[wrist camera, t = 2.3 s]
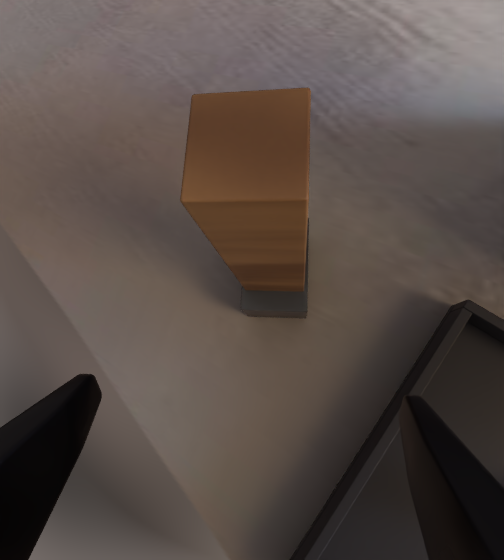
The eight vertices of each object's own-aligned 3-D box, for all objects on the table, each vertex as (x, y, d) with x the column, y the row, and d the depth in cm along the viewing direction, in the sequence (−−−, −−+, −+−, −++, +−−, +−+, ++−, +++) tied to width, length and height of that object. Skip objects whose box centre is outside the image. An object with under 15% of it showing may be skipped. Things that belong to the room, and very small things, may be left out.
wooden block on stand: (306, 318, 23) (315, 242, 9) (247, 316, 24) (167, 241, 9) (307, 234, 25) (318, 51, 10) (252, 234, 25) (188, 61, 11)
